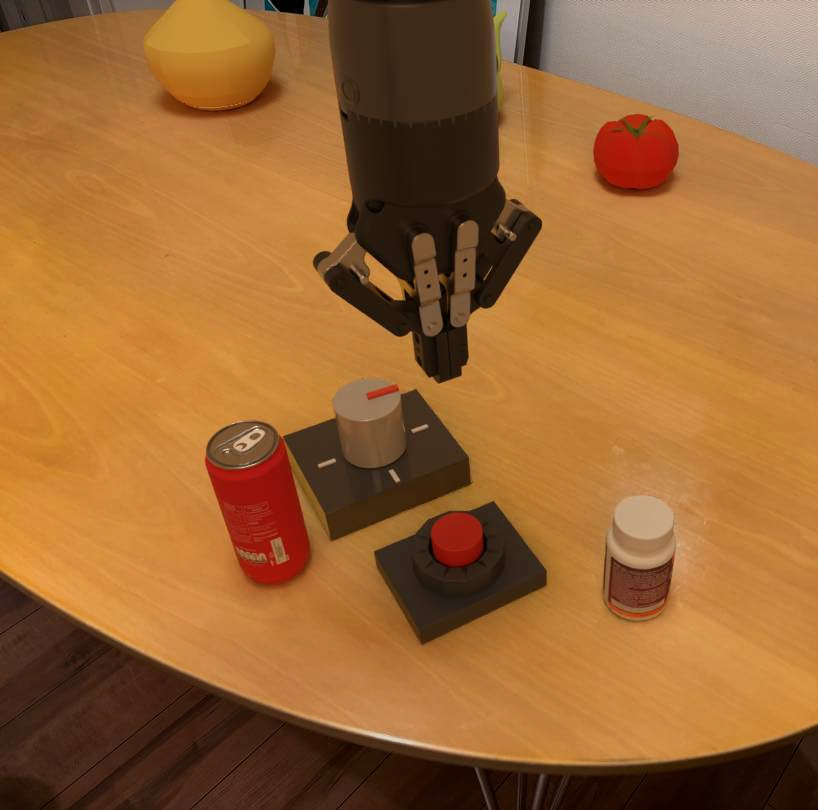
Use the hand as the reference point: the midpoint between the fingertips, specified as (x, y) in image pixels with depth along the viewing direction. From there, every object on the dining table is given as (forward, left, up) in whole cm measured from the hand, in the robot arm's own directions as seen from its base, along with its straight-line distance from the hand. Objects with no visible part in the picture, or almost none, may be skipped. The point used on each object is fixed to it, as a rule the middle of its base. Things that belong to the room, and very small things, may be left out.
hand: (442, 372), depth 53 cm
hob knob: (-1, +13, -16) cm, 21 cm away
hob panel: (-1, +13, -19) cm, 23 cm away
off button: (0, 0, -16) cm, 16 cm away
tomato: (+48, +46, -19) cm, 69 cm away
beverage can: (-11, +8, -19) cm, 24 cm away
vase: (+10, +100, -19) cm, 102 cm away
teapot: (+37, +75, -19) cm, 86 cm away
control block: (0, 0, -19) cm, 19 cm away
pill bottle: (+10, -8, -19) cm, 23 cm away
